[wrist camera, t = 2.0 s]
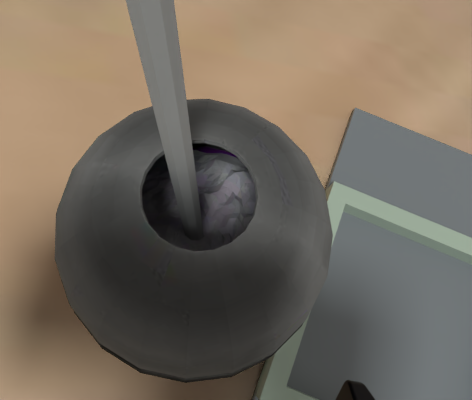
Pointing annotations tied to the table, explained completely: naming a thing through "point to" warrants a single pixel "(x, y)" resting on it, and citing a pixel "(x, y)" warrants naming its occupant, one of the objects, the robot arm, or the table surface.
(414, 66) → the table surface
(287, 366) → the socket board
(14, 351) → the table surface
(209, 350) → the beverage cup
